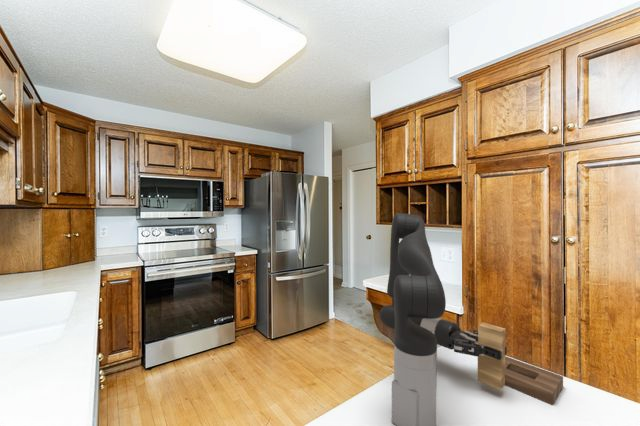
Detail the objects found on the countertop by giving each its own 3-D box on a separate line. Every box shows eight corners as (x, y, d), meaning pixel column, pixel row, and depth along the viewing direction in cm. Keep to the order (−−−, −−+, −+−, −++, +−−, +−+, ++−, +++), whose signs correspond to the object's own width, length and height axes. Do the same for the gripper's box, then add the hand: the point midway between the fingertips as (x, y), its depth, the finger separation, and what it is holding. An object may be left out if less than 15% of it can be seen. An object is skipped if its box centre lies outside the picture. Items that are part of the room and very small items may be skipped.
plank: (500, 390, 73) (501, 331, 73) (477, 380, 78) (478, 324, 77) (504, 386, 75) (505, 328, 75) (482, 376, 80) (482, 322, 79)
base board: (552, 405, 71) (552, 393, 71) (482, 375, 83) (483, 365, 83) (563, 387, 78) (563, 376, 78) (497, 362, 90) (497, 353, 90)
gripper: (427, 324, 83) (493, 347, 70) (450, 313, 92) (513, 331, 79) (427, 350, 83) (493, 378, 70) (450, 337, 92) (513, 359, 79)
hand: (503, 353), depth 74 cm, fingers closed on plank, 3 cm apart
